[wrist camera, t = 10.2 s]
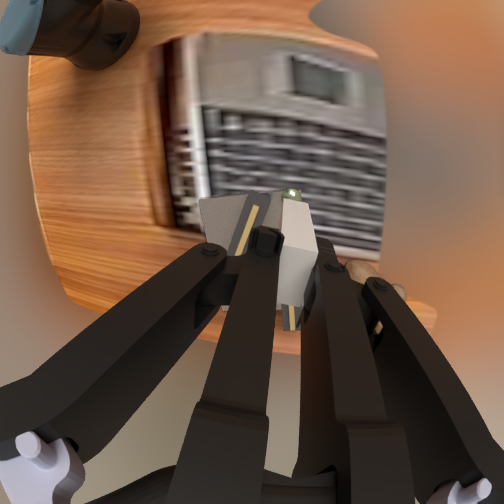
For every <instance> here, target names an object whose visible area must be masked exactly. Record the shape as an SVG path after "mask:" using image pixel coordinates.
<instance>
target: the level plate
mask: <svg viewBox="0 0 504 504" xmlns="http://www.w3.org/2000/svg"><path fill="white" fill-rule="evenodd" d="M258 193H261V194H263V195H266V196H268V197H271V202H270V206H269V209H268V211H267V214H266V216H265V219H264V221H263V224H262V226H267V227H271V228H276V229H277V226H278V222H279V217H280V213H281V208H282V204H283V199H284V198H286V199H291V200H295V201H299V202H302V197H301V188H298V189H296V188H287V189H283V190H271V191H259V192H258ZM248 194H249V192H248V193H238V194H228V195H219V196H210V197H202V198H200V199H199V203H200V209H201V214H202V219H203V224H204V229H205V234H206V238H207V242H209V243H214V244H218V245H220V246H222V247H224V248H225V249H226V250H227V251H228V248H229V245H230V242H231V239H232V237H233V234H234V231H235V228H236V225H237V222H238V220H239V217H240V214H241V211H242V209H243V206H244V203H245V200H246V198H247V196H248ZM303 305H304V298H303V301H302V308H303ZM228 308H229V306H222V310H223V311H228ZM276 310H282V308H281V303H277V304H276Z"/></svg>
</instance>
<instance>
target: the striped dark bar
mask: <svg viewBox="0 0 504 504" xmlns="http://www.w3.org/2000/svg"><path fill="white" fill-rule="evenodd" d="M270 202H271V197H268V196H266V195H263V194H261V193H258V192H255V191H253V190H251V191H250V192H249V194H248V196H247V198H246V200H245V203H244V206H243V209H242V211H241V214H240V217H239V220H238V222H237V225H236V228H235V231H234V234H233V237H232V239H231V242H230V245H229V248H228V251H227V256H238V255H243V254H245V253H246V251H247V247H248V241H249V236H250V231H251V229H252V228H255V227H258V226H260V225H262V224H263V221H264V219H265V216H266V214H267V211H268V209H269V206H270Z"/></svg>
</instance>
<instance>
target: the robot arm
mask: <svg viewBox="0 0 504 504" xmlns="http://www.w3.org/2000/svg"><path fill="white" fill-rule="evenodd" d="M139 23H140V17H139V12H138V10H137V8H136V7H135V6H134V5H133V4H131V3H130V2H128V1H126V0H10V1H9V3H8V5H7V7H6V9H5V11H4V13H3V16H2V19H1V22H0V49H1V50H2V52H4V53H6V54H14V55H19V56H24V55H35V56H52V57H63V58H66V59H67V60H69V61H71V62H72V63H73V64H74V65H75V66H77V67H78V68H81V69H85V70H101V69H104V68H106V67H108V66H110V65H112V64H113V63H115V62H116V61H117V60H118V59H119V58H121V57H122V56H123V55H124V53H125V52H126V51H127V50H128V49H129V47H130V46H131V44H132V43H133V41H134V39H135V37H136V34H137V32H138V28H139ZM303 298H304V305H303V308H302V311H301V314H300V316H299V319H298V322H297V324H296V328H298V327H299V325H300V324H301V390H300V391H301V392H300V393H301V394H300V426H299V448H298V459H297V462H296V465H295V467H294V470H293V473H292V477H291V478H290V477H286V476H284V475H280V474H277V473H274V472H271V471H268V470H265V469H264V464H265V456H266V448H267V440H268V431H269V418H268V416H267V415H266V404H267V396H268V387H269V378H270V369H271V358H272V349H273V338H274V327H275V316H276V304H277V303H281V304H286V305H291V306H296V307H300V306H301V303H302V301H303ZM220 306H229V308H228V312H227V315H226V318H225V321H224V325H223V328H222V331H221V334H220V337H219V341H218V344H217V347H216V350H215V354H214V357H213V360H212V363H211V367H210V370H209V373H208V376H207V380H206V383H205V386H204V389H203V393H202V396H201V399H200V401H199V402H197V404H196V406H195V408H194V411H193V414H192V416H191V420H190V423H189V426H188V429H187V432H186V436H185V439H184V442H183V445H182V449H181V452H180V455H179V458H178V461H177V465H173V466H169V467H165V468H162V469H159V470H156V471H154V472H151V473H150V474H148V475H146V476H144V477H142V478H140V479H138V480H136V481H134V482H132V483H130V484H128V485H127V486H124V487H122V488H120V489H118V490H116V491H113V492H111V493H109V494H107V495H105V496H102V497H100V498H97V499H95V500H93V501H90V502H88V503H85V504H415V497H416V499H417V501H418V502H419V503H420V504H504V450H503V449H502V448H501V447H500V446H499V445H498V444H497V442H496V441H495V440H494V439H493V438H492V436H491V434H490V432H489V430H488V428H487V426H486V424H485V422H484V420H483V419H482V417H481V415H480V413H479V411H478V410H477V408H476V406H475V404H474V403H473V401H472V400H471V397H470V396H469V394H468V392H467V391H466V389H465V387H464V386H463V384H462V382H461V381H460V379H459V378H458V376H457V375H456V373H455V371H454V370H453V368H452V367H451V365H450V364H449V362H448V361H447V359H446V358H445V356H444V355H443V354H442V352H441V350H440V349H439V347H438V346H437V345H436V344H435V342H434V340H433V339H432V338H431V336H430V335H429V333H428V332H427V331H426V329H425V328H424V326H423V325H422V324H421V322H420V321H419V320H418V318H417V317H416V316H415V314H414V313H413V312H412V310H411V309H410V308H409V307H408V305H407V304H406V303H405V301H404V300H403V299H402V298H401V296H400V295H399V294H398V293H397V291H396V290H395V289H394V288H393V286H392V285H391V284H390V283H388V282H387V281H385V280H384V279H381V278H380V277H368V278H367V279H366V281H365V283H364V284H362V283H359V282H357V281H355V280H352V279H351V278H350V275H349V272H348V270H347V268H346V267H345V266H344V265H343V264H341V263H339V262H338V260H337V257H336V254H335V250H334V247H333V244H332V243H331V242H330V241H329V240H328V239H325V238H320V237H316V236H315V233H314V229H313V224H312V220H311V215H310V211H309V206H308V203H304V202H299V201H295V200H291V199H286V198H284V199H283V204H282V208H281V213H280V217H279V222H278V226H277V229H276V228H271V227H267V226H262V225H260V226H258V227H255V228H252V229H251V231H250V236H249V241H248V247H247V251H246V253H245V254H243V255H238V256H227V250H226V249H225V248H224V247H222V246H220V245H218V244H214V243H209V242H206V243H200V244H198V245H195V246H194V247H192V248H191V249H190V250H188V251H187V252H185V253H184V254H183V255H181V256H180V257H179V258H177V259H176V260H174V261H173V262H172V263H170V264H169V265H168V266H166V267H165V268H163V269H162V270H161V271H159V272H158V273H157V274H155V275H154V276H153V277H151V278H150V279H149V280H147V281H146V282H145V283H143V284H142V285H141V286H139V287H138V288H137V289H135V290H134V291H133V292H132V293H130V294H129V295H128V296H126V297H125V298H124V299H122V300H121V301H120V302H119V303H117V304H116V305H115V306H113V307H112V308H111V309H110V310H108V311H107V312H106V313H104V314H103V315H102V316H101V317H99V318H98V319H97V320H96V321H94V322H93V323H92V324H91V325H89V326H88V327H87V328H86V329H84V330H83V331H82V332H81V333H79V334H78V335H77V336H76V337H75V338H74V339H72V340H71V341H70V342H68V343H67V344H66V345H65V346H64V347H63V348H61V349H60V350H59V351H58V352H56V353H55V354H54V355H53V356H52V357H51V358H49V359H48V360H47V361H46V362H45V363H44V364H42V365H41V366H40V367H39V368H38V369H37V370H35V371H34V372H33V373H32V374H31V375H29V376H27V377H25V378H22V379H20V380H17V381H15V382H12V383H10V384H7V385H5V386H3V387H0V481H1V483H2V485H3V488H4V490H5V491H6V494H7V496H8V498H9V500H10V502H11V504H70V501H71V498H72V496H73V494H74V493H75V492H76V491H77V490H78V489H79V488H80V487H81V486H82V485H83V482H84V481H85V469H84V466H83V464H84V463H86V462H88V461H89V460H90V459H92V458H93V457H94V456H95V455H97V454H98V453H99V452H100V451H101V450H102V449H103V448H104V447H105V446H106V445H107V444H108V443H109V442H110V441H111V440H112V439H113V438H114V436H115V435H116V434H117V433H118V432H119V430H120V429H121V428H122V427H123V426H124V425H125V423H126V422H127V421H128V420H129V419H130V418H131V416H132V415H133V414H134V413H135V411H136V410H137V409H138V408H139V407H140V406H141V404H142V403H143V402H144V401H145V400H146V398H147V397H148V396H149V395H150V394H151V392H152V391H153V390H154V389H155V388H156V386H157V385H158V384H159V383H160V382H161V380H162V379H163V378H164V377H165V376H166V374H167V373H168V372H169V370H170V369H171V368H172V367H173V366H174V365H175V363H176V362H177V361H178V359H180V357H181V356H182V355H183V353H184V352H185V351H186V350H187V349H188V348H189V346H190V345H191V344H192V343H193V341H194V340H195V339H196V338H197V337H198V335H199V334H200V333H201V332H202V330H203V329H204V328H205V327H206V326H207V324H208V323H209V322H210V321H211V319H212V318H213V317H214V316H215V314H216V313H217V312H218V311H219V308H220ZM379 321H380V322H381V324H382V326H383V327H382V329H381V331H380V332H379V334H378V333H377V332H376V330H375V328H376V327H377V325H378V323H379Z"/></svg>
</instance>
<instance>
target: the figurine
mask: <svg viewBox="0 0 504 504" xmlns="http://www.w3.org/2000/svg"><path fill="white" fill-rule="evenodd" d="M346 268H347V270H348V272H349V275H350V278H351V279H352V280H355V281H357V282H359V283H362V284H364V283H365V281H366V279H367V278H368V277H380V278H381V279H384V277H383V276H382V275H381V274H379V273H378V272H377V271H376V270H375V269H374V267H372V266H371V265H370V264H368V263H366V262H364V261H360V260H351V261H348V262H347V264H346ZM384 280H385V279H384ZM392 286H393V288H394V289H395V290H396V291H397V293H398V294H399V295H400V296H401V298H402V299H403V300H404V301H406V299H407V294H406V290H405V288H404V287H403V286H401V285H399V284H392ZM382 327H383V326H382V324H381V322H380V321H379V323H378V325H377V327H376V328H375V330H376V332H377V333H378V334H379V332H380V331H381V329H382Z"/></svg>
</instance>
